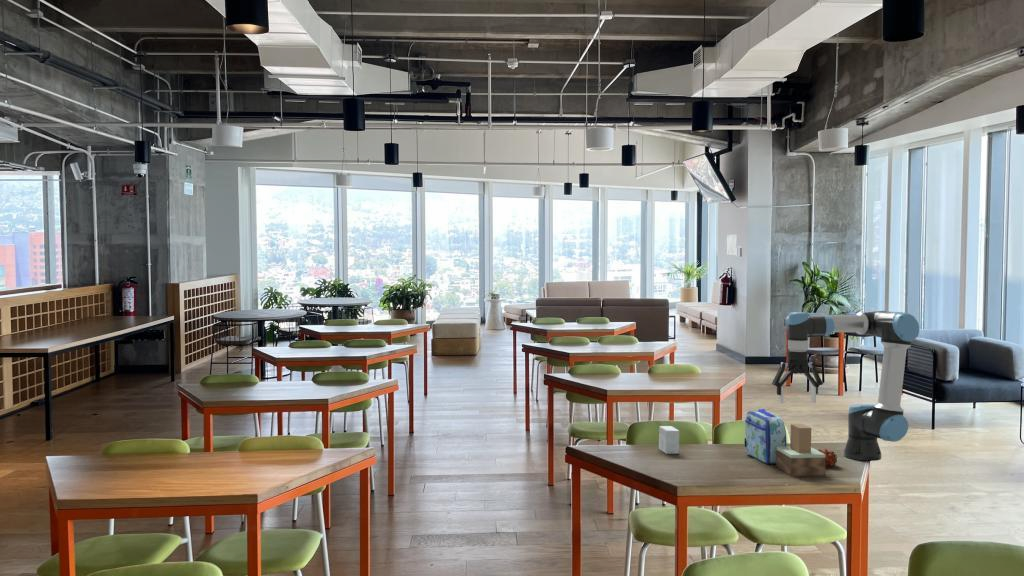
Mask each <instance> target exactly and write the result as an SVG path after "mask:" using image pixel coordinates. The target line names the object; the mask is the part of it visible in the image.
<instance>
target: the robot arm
mask: <svg viewBox="0 0 1024 576" xmlns="http://www.w3.org/2000/svg"><path fill="white" fill-rule="evenodd" d="M784 320H785V321H784V326H785V328H786V329H787V349H788V351H787V362H782V361H781V362H780V364H779V367H778V370H777V373H776V374H775V376H774V378H773V380H772V383H771V384H772V385H773V386H775V387H776V395H777V396H778V403H779V404H780V405H781V404H784V384H785V383H786V381H787V380H788V379H789V378H790V376H792V375H793V374H794V375H795V374H797V375H798V374H801V375H802V374H804V376H805V377H806V378H807V379H808V381H809V382H810V383H811V384H812V385H811V386H810V388H811V389H810V402H811V403H812V404H816V403H817V395H818V394H819V387H820V386H822V385H823V384H824V383H823V380H822V379H821V376H820V374H819V372H818V370H817V367H816V363H815V362H813V361H809V362H808V346H809V345H808V343H809V336H827V335H832V334H833V333H856V334H857V335H865V336H872V337H876V338H880V343H881V344H882V346H883V353H882V362H881V371H880V373H881V374H880V378H879V379H880V380H879V381H880V382H879V387H878V388H879V389H878V397H877V402H876V403H875V404H865V403H864V404H852V405H850V406H849V408H848V413H847V414H848V415H847V416H848V425H847V427H848V436H847V437H848V438H847V440H846V443H845V446H844V449H843V456H844V457H845V458H847V459H851V460H857V461H863V460H867V461H868V460H869V461H868V462H875V461H880V460H882V451H881V448H880V445H879V443H878V439H879V440H882V441H885V442H893V443H897V442H899V441H901V440H902V439H903V438H904V437H905V436H906V435H907V433H908V431H909V421H908V420H907V418H906V417H905V415H904V411H905V410H904V409H903V407H901V401H902V392H903V385H904V375H905V367H906V359H907V358H906V357H907V350H908V349H909V348H910V347H912V342H913V341H914V340H916V339H917V338H918V337H919V333H920V325H919V322H918V320H917V319H916V317H915V316H914V315H913V314H910V313H907V312H902V311H887V310H877V311H867V312H857V313H856V314H808V312H803V311H796V312H795V311H792V312H789V313H788V315H787V316H786V318H785V319H784ZM786 368H787V370H786ZM807 368H809V369H810V370H811V372H812V374H810V371H809V370H808V369H807ZM785 370H786V372H785ZM784 372H785V373H784ZM867 461H866V462H867Z"/></svg>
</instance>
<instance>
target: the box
mask: <svg viewBox="0 0 1024 576" xmlns="http://www.w3.org/2000/svg"><path fill="white" fill-rule="evenodd" d="M775 465H776V466H775V467H776V468H778V469H779V470H781V471H783V472H784V473H786V474H788V475H789V476H791V477H795V476H797V477H798V476H800V477H801V476H826V468H825V458H790V457H788V456H787V455H785V454H783V453H782V452H780V451H778V450H777V458H776V464H775Z"/></svg>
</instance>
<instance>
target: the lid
mask: <svg viewBox="0 0 1024 576" xmlns="http://www.w3.org/2000/svg"><path fill="white" fill-rule="evenodd" d="M789 440H790V441H789V442H790V443H789V444H790V445H789V446H787V447H777V450H778V451H780V452H782V453H783V454H785V455H787V456H788V457H790V458H825V454H823V453H822V452H820V451H818V450H819V449H816V448H814V447H812V427H810V426H808V425H806V424H804V423H790V439H789Z"/></svg>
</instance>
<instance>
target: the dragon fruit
mask: <svg viewBox="0 0 1024 576" xmlns="http://www.w3.org/2000/svg"><path fill="white" fill-rule="evenodd" d="M817 450H818V451H820V452H822V453H823V454H825V469H827V468H829V467H833V466H837V462H838V460H837V459H838V455H837V454H836V453H835V452H834V451H832V450H830V451H829V450H828V449H827V448H824V450H822V449H817Z"/></svg>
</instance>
